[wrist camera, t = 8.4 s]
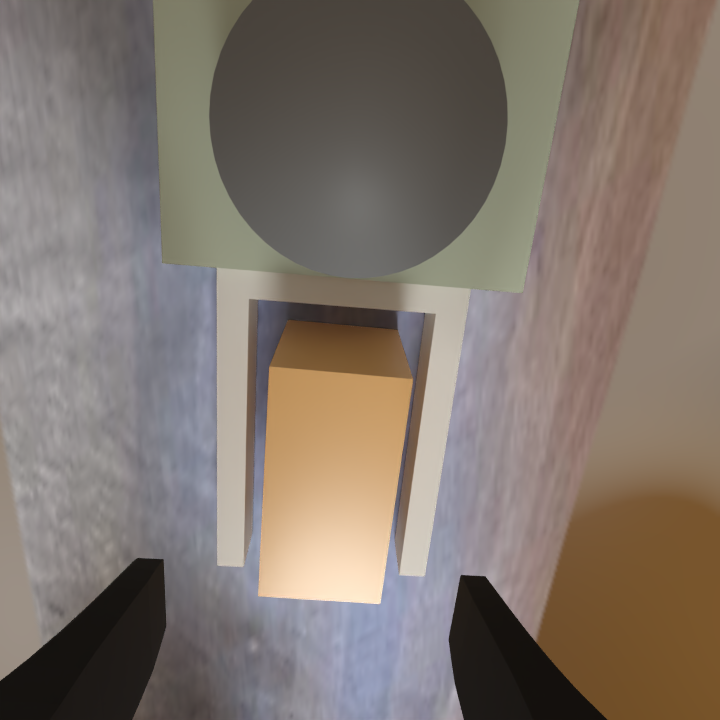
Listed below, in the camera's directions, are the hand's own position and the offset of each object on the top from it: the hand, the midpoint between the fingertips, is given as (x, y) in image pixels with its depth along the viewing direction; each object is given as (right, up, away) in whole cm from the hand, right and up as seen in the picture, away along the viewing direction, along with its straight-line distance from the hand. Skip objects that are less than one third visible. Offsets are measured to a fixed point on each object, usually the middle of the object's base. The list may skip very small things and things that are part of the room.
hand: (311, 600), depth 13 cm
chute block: (0, +3, +8) cm, 9 cm away
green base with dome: (+1, +7, +6) cm, 10 cm away
